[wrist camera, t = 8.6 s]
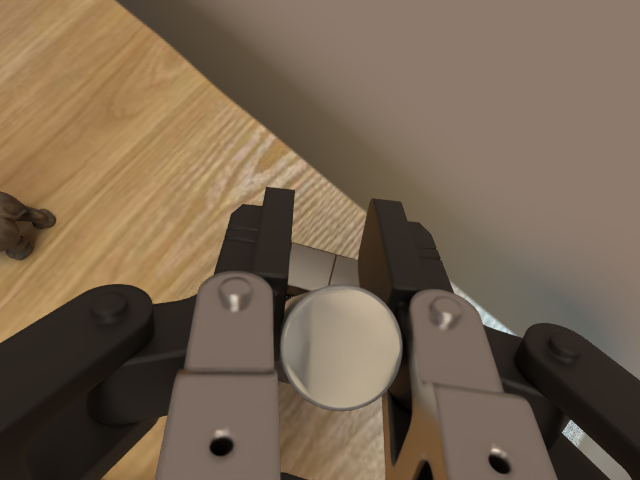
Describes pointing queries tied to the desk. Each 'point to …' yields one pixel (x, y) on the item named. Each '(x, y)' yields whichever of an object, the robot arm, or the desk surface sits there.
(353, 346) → the stylus
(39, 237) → the desk surface
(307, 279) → the pen stand
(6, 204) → the rhino figurine
